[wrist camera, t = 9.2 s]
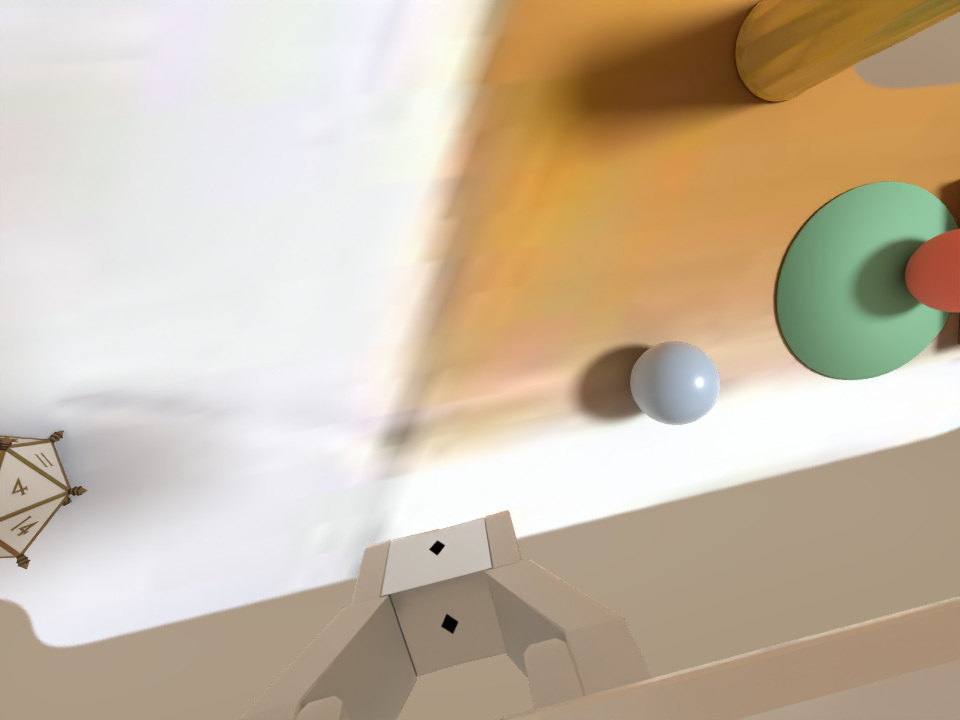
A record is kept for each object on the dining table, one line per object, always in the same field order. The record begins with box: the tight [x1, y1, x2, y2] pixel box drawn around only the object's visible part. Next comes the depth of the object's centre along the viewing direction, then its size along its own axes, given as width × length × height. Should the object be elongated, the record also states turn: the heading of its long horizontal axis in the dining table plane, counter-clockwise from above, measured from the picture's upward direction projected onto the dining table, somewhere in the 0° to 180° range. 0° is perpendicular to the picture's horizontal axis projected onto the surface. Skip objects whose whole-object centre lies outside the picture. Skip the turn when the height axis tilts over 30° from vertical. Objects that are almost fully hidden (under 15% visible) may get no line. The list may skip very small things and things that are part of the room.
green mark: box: [777, 182, 959, 380], centre depth 33 cm, size 14×14×1 cm
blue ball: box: [630, 342, 720, 425], centre depth 30 cm, size 6×6×6 cm
